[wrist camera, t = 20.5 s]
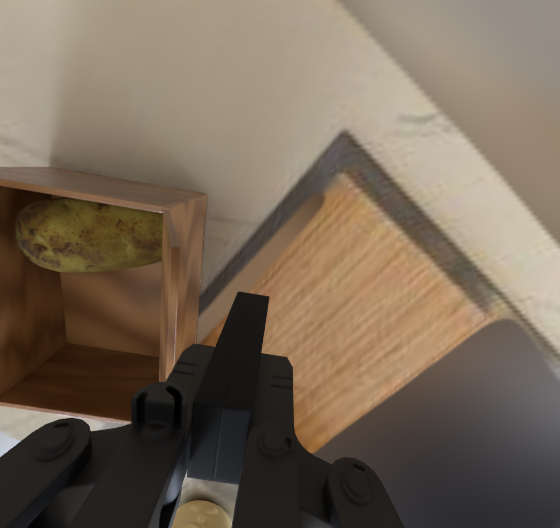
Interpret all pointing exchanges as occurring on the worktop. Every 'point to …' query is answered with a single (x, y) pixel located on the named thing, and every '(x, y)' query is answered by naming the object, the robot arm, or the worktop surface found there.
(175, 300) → the flap
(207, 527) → the sculpture
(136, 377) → the wooden box
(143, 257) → the potato
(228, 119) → the worktop surface
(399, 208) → the worktop surface
